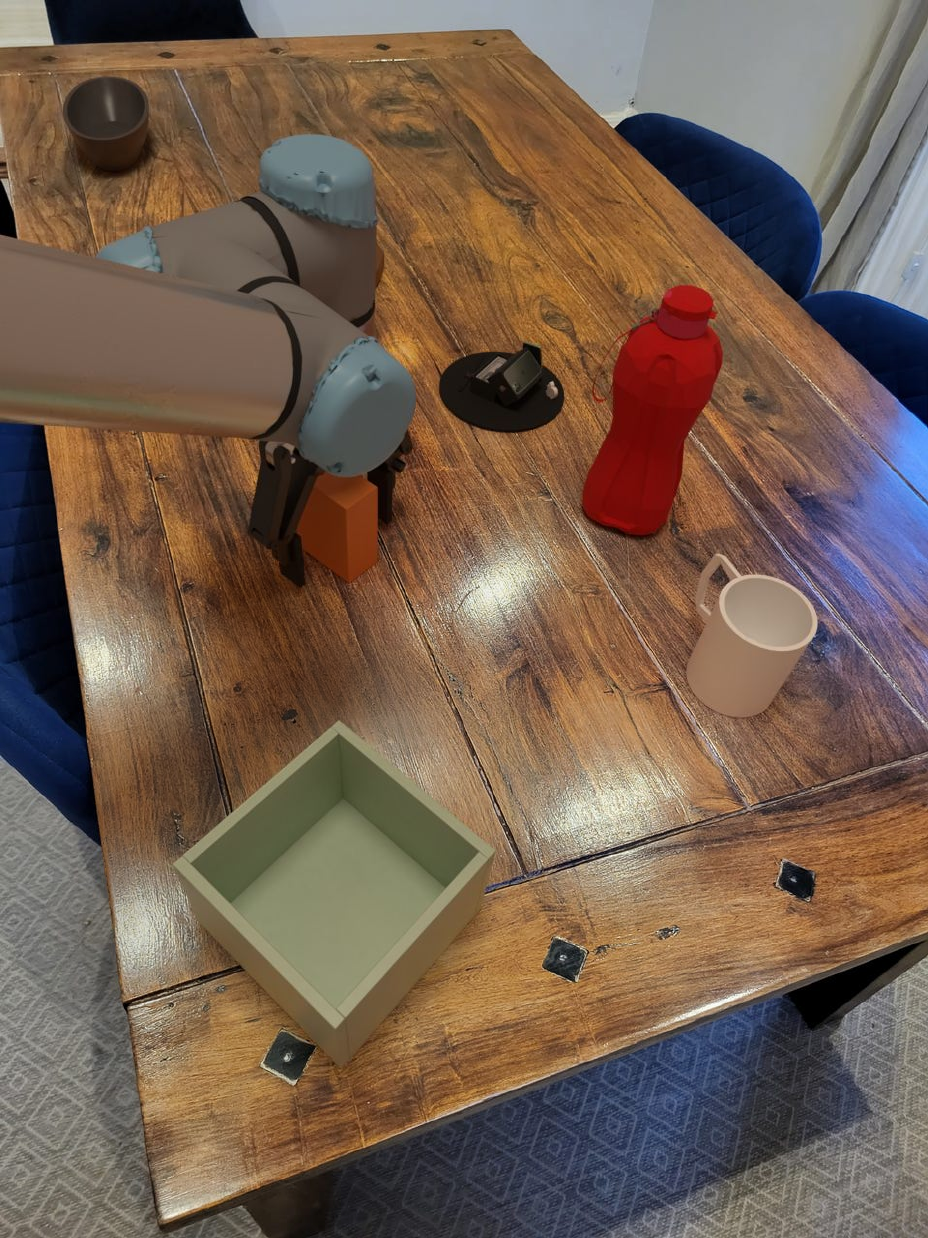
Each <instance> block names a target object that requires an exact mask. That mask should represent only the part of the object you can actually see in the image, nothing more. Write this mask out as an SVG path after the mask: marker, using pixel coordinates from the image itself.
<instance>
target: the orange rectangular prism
mask: <svg viewBox="0 0 928 1238" xmlns="http://www.w3.org/2000/svg"><path fill="white" fill-rule="evenodd" d="M378 520H379V519H378V487H377V486H375V485H374V484H372V483H371V482H369V481H368V480H367V478H365V477H363V476H362V475H359V476H355V477H338V476H335V475H332V474H330V473H328V472H327V471H325V473H324V474H323V475H319V476H318V477H317V480H316V482H315V485H314V487H313V489H312V492H311V494H310V497H309V499H308V502H307V504H306V507H305V509H304V511H303V514H302V516H301V519H300V521H299V524H298V526H297V529H296V531H297V534H298V535H300V536H301V541H302V550H304V551H305V552H306V553H307V554H309V555H310V556H312V557H313V558H314V559H316V560H317V561H318V562H320V563H321V564H322V565H324V566H325V567H327V568H328V569H329V570H330V571H332V572H333V573H334V574H336V575H337V576H339V578H341V579H342V580H344V581H345V582H347V584H350V583H351V582H353V581H354V580H355V579H357V578H358V577H360V576H361V575H362V574H363V573H365V572H366V571H367V570H368V569H370V568H371V567H373V566H374V565H375V564H377V563H378V561H379V559H378V553H379V552H378V551H379V550H378V549H379V548H378V546H379V543H378V542H379V541H378V539H379V537H378V536H379V533H378V532H379V531H378V528H379V527H378V526H379V525H378Z"/></svg>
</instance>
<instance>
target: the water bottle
mask: <svg viewBox="0 0 928 1238" xmlns="http://www.w3.org/2000/svg"><path fill="white" fill-rule="evenodd" d="M714 302H715V301H714V298H713V297H712V296H711V294H710V293H709V292H708V291H707V290H705V289H703V288H701V287H698V286H696V285H692V284H679V285H677V286H673V287H671V288H669V289H668V290H666V291H665V292H664V294H663V296H662V299H661V302H660V306H659V308H657V307H655V308H653V309H652V311H651V314H650V315H648V316H646V317H643V318H642V319H641V320H640V321H639V322H637V323H636V324H634V325H633V326H632V327H631V328H630V329H629V330H627V331H626V332H624V333H623V334H621V335H619V336H618V337H617V338H616V339H615V340H614V342H613V343H612V345H611V346H610V348H609V349H608V350H607V353H606V354H605V356H604V358H603V360H602V361H601V363H600V366H599V367H598V369H597V372H596V375H595V377H594V379H593V383H592V386H591V387H592V388H591V389H592V390H591V394H592V398H593V400H594V401H596V402H598V403H603V402H605V401H607V400H608V398H609V397H610V395H611V392H612V418H611V424H610V428H609V430H608V432H607V434H606V436H605V438H604V439H603V442H602V444H601V446H600V448H599V450H598V452H597V455H596V457H595V458H594V460H593V463H592V464H591V465H590V468H589V470H588V472H587V474H586V478H585V480H584V484H583V487H582V494H581V495H582V496H581V500H582V501H581V502H582V508H583V510H584V512H585V513H586V515H587V516H588V517H589V518H590V519H592V520H593V521H595V522H597V523H599V524H600V525H601V526H606V527H611V528H616V529H618V530H620V531H622V532H624V533H626V534H628V535H635V536H636V535H637V536H645V535H650V534H655V533H656V532H657V531H658V530H659V529H660V528H661V526H662V525H664V524H665V523H666V521H667V520H668V516H669V514H670V512H671V509H672V506H673V503H674V501H675V498H676V496H677V492H678V489H679V486H680V483H681V480H682V477H683V467H684V452H685V442H686V439H687V437H688V435H689V433H690V432H691V430H692V428H693V426H694V425H695V423H696V422H697V420H698V418H699V417H700V415H701V414H702V412H703V410H704V409H705V408H706V406H707V404H708V403H709V401H710V400H711V398H712V395H713V390H714V385H715V383H716V381H717V379H718V377H719V375H720V371H721V369H722V366H723V359H724V351H723V347H722V343H721V340H720V338H719V335H718V334H717V333H716V331H714V329H713V328H712V327H710V326H709V325H708V323H709V320H716V317H717V315H718V312H717V311H716V310H713V308H714ZM624 336H626V337H625V339H624V341H623V343H622V345H621V347H620V348H619V352H618V356H617V359H616V361H615V364H614V365H613V371H612V382H611V386H610V389H609V392H608V395H607V396H606V397H605V398H602V399H601V398H598V397H597V396H596V394H595V384H596V379H597V376H598V375H599V372H600V370H601V368H602V365H603V363H604V361H605V360H606V358H607V357H608V354H609V353H610V351H611V350H612V348H613V346H614V345H615V344H616V343H617V342H618V341H619V340H620V339H622V338H623V337H624Z"/></svg>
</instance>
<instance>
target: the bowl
mask: <svg viewBox="0 0 928 1238" xmlns="http://www.w3.org/2000/svg"><path fill="white" fill-rule="evenodd" d="M149 116H150V102H149V98H148V95H147V93H146V91H145V90H144V89H143V88H142V86H140V85H139V84H138V83H136V82H135V81H132V80H130V79H128V78H124V77H118V76H98V77H93V78H90V79H86V80H84V81H82V82H79V84H77V85H75V86H74V87H73V88H72V89H71V90H70V91H69V92H68V94H67V95H66V97H65V98H64V100H63V104H62V117H63V121H64V123H65V125H66V127H67V129H68V131H69V132H70V135H71V136H72V138H73V140H74V141H75V143H76V144H77V146H78V147H79V148H80V149H81V151H82V152H83V153H84V155H85V156H86V157H87V158H88V159H89V160H90V161H91V162H92V163H94V164H95V166H97V167H98V168H99V169H101V170H103V171H106V172H110V173H116V172H123V171H125V170H127V169H130V168H131V167H132V166H134V164H135V163H136V162H137V161H138V159H139V158H140V155H141V154H142V151H143V148H144V145H145V143H146V139H147V133H148V127H149V120H150V119H149Z"/></svg>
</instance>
